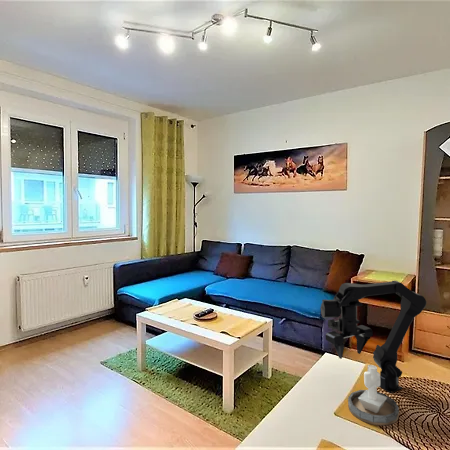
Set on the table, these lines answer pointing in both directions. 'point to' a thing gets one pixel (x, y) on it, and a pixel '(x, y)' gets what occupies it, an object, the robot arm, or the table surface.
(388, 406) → the brown round plate
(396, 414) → the round grey tray
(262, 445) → the table surface
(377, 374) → the figurine
